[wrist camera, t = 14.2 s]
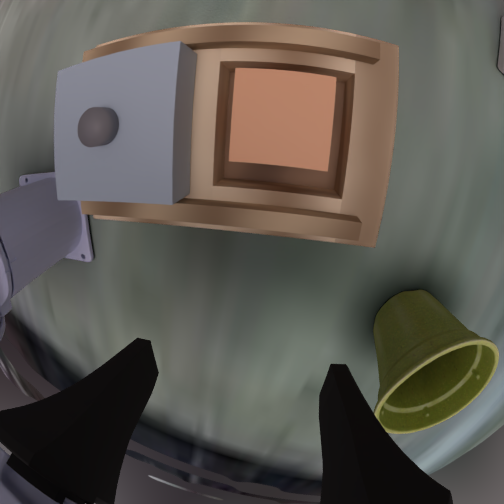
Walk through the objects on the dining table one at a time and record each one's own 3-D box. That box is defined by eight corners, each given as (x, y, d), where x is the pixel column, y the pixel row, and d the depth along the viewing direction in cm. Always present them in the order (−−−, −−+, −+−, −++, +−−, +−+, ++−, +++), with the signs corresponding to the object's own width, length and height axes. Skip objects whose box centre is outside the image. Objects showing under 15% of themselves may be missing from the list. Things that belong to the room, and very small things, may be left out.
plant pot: (415, 244, 17) (476, 314, 10) (465, 305, 19) (509, 370, 11) (331, 327, 21) (343, 416, 13) (393, 369, 23) (414, 441, 15)
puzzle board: (116, 206, 19) (83, 224, 15) (120, 53, 14) (85, 42, 10) (362, 230, 18) (380, 256, 14) (382, 58, 13) (406, 40, 9)
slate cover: (81, 190, 15) (46, 205, 12) (83, 74, 12) (46, 70, 9) (189, 193, 15) (164, 210, 12) (197, 53, 11) (172, 34, 8)
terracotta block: (248, 152, 16) (228, 161, 11) (253, 90, 15) (235, 67, 9) (313, 159, 16) (327, 171, 10) (319, 97, 14) (336, 77, 9)
